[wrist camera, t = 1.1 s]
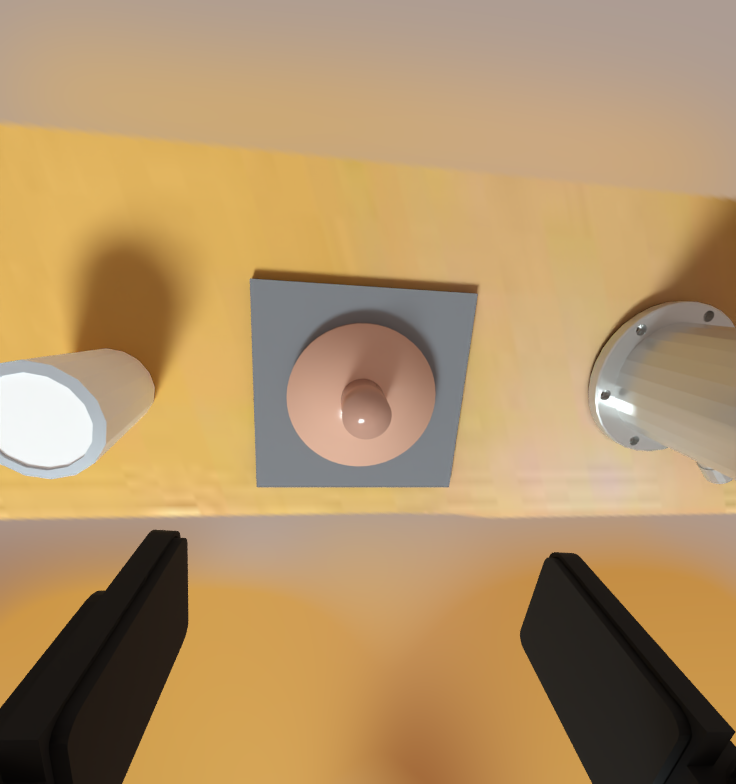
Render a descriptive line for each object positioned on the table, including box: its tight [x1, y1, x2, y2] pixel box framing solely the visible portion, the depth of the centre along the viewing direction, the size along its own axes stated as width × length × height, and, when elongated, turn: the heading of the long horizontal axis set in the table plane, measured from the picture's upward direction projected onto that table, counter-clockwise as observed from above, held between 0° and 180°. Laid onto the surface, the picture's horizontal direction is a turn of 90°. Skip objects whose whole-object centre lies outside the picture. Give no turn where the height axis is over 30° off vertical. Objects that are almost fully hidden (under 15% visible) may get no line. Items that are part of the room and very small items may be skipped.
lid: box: [287, 323, 436, 466], centre depth 25 cm, size 11×11×4 cm
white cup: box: [0, 348, 155, 479], centre depth 22 cm, size 7×7×7 cm
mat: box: [250, 279, 478, 487], centre depth 27 cm, size 16×16×1 cm
